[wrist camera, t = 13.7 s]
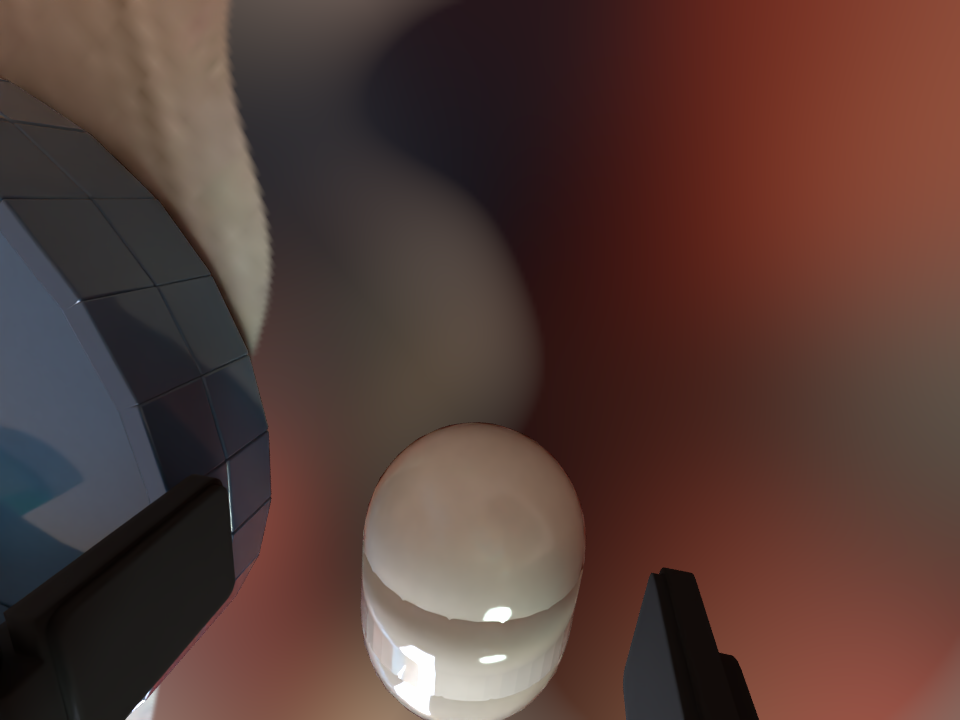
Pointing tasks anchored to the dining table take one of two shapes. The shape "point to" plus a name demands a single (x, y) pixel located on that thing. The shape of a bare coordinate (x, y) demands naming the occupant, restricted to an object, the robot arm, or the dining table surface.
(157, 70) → the dining table surface
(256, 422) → the basin
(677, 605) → the robot arm
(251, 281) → the dining table surface
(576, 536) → the egg
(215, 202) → the dining table surface
